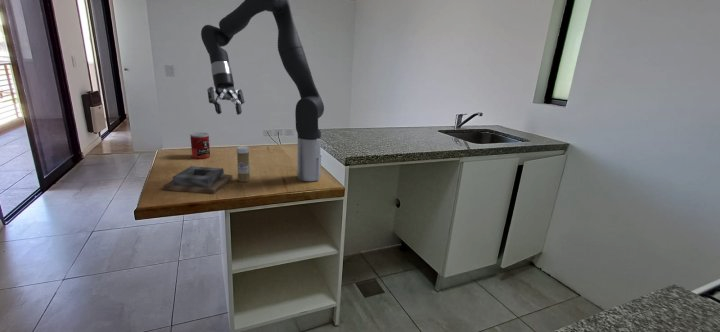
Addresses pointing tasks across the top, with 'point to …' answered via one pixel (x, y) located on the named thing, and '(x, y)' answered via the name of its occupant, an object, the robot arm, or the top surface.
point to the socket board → (200, 189)
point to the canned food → (200, 145)
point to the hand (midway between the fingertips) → (229, 113)
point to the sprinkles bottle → (243, 163)
